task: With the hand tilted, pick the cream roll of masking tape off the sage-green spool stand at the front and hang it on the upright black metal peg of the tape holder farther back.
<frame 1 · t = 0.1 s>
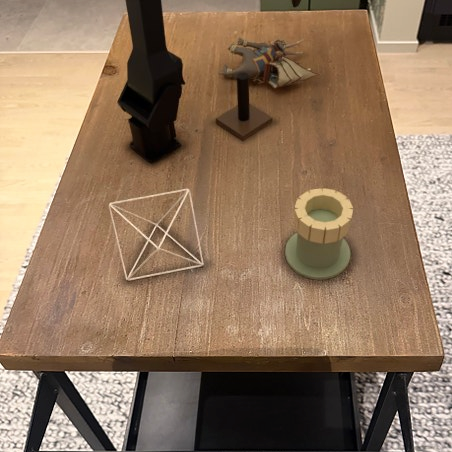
spool stand: (317, 254, 73), on the table
geometric polyhedron: (162, 257, 74), on the table
tape post: (243, 122, 91), on the table
tape roll: (321, 222, 68), point 6 cm above the table, touching spool stand
figurine: (272, 79, 99), on the table
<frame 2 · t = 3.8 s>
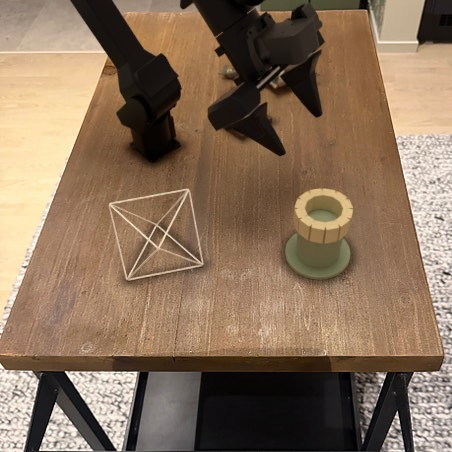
hand: (301, 135, 67), 14 cm above the table, tool tilted 40°, fingers open, 9 cm apart
nothing on the table moved.
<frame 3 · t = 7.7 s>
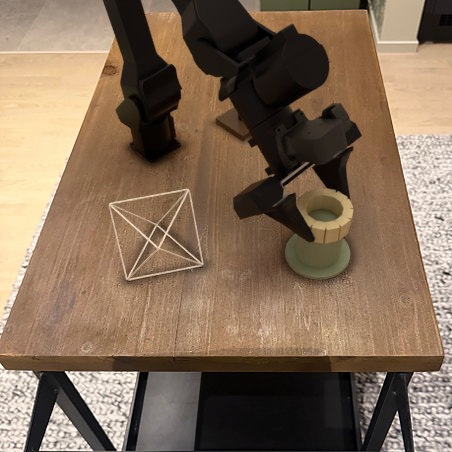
hand: (330, 225, 67), 7 cm above the table, tool tilted 45°, fingers closed on tape roll, 7 cm apart
tape roll: (322, 222, 68), point 7 cm above the table, touching gripper, spool stand
everything else where it was.
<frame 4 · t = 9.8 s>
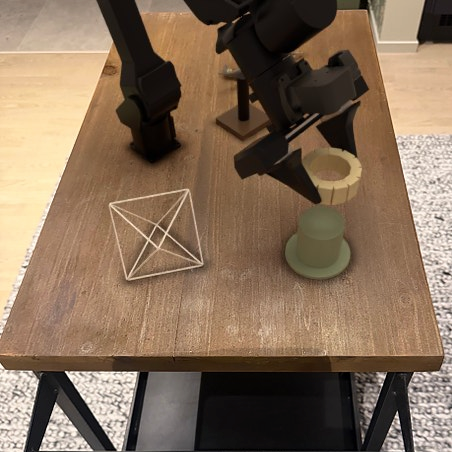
hand: (337, 186, 63), 13 cm above the table, tool tilted 45°, fingers closed on tape roll, 7 cm apart
tape roll: (328, 183, 64), point 12 cm above the table, touching gripper
everything else where it was.
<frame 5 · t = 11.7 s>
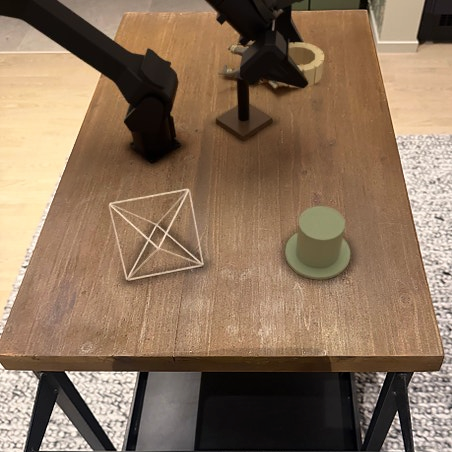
hand: (306, 70, 74), 14 cm above the table, tool tilted 45°, fingers closed on tape roll, 7 cm apart
tape roll: (296, 72, 75), point 14 cm above the table, touching gripper
everything else where it was.
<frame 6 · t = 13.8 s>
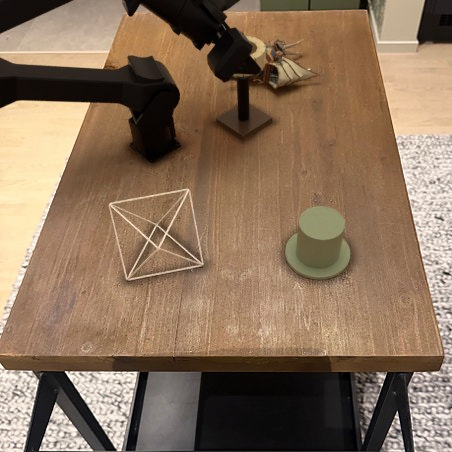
hand: (250, 59, 82), 11 cm above the table, tool tilted 45°, fingers closed on tape roll, 7 cm apart
tape roll: (242, 63, 82), point 11 cm above the table, touching gripper
everything else where it was.
when the fingers open (7 cm above the table, at t = 15.8 s): tape roll drops 6 cm, resting on tape post.
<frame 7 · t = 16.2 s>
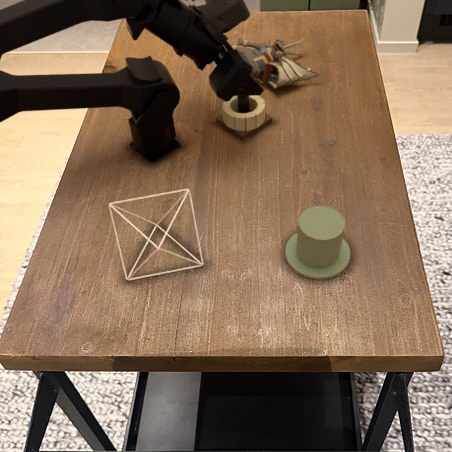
hand: (251, 77, 84), 8 cm above the table, tool tilted 45°, fingers open, 9 cm apart
tape roll: (244, 117, 90), point 1 cm above the table, touching tape post
everything else where it was.
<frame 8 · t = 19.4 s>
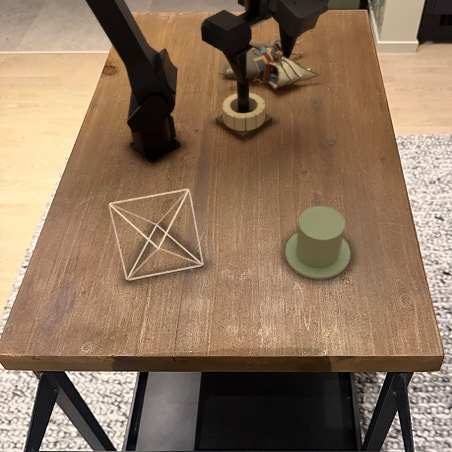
hand: (264, 69, 77), 13 cm above the table, tool pointing down, fingers open, 9 cm apart
nothing on the table moved.
at the end: tape roll 0.0 cm off-centre on the tape post, point 1.0 cm above the tape post's base; the gripper is holding nothing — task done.
